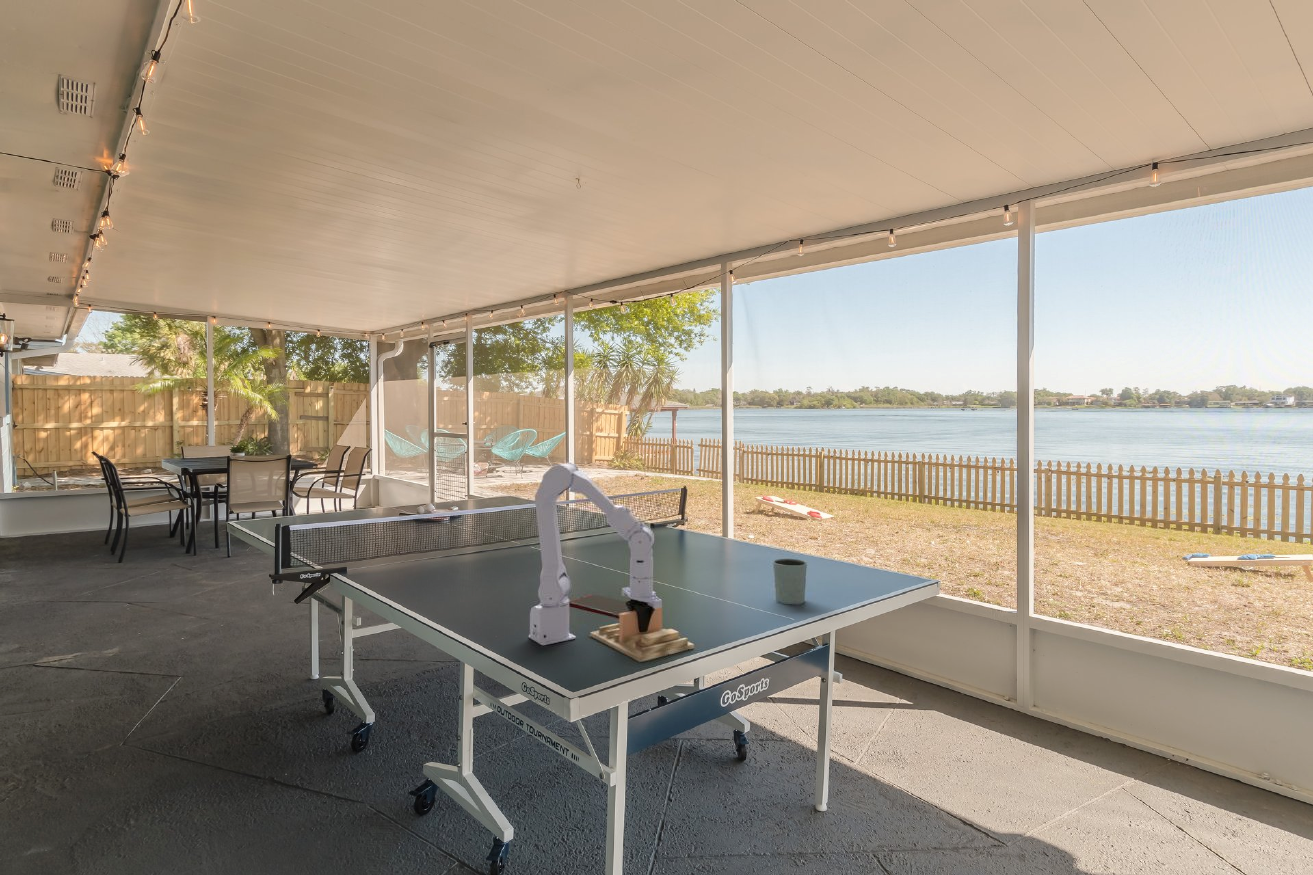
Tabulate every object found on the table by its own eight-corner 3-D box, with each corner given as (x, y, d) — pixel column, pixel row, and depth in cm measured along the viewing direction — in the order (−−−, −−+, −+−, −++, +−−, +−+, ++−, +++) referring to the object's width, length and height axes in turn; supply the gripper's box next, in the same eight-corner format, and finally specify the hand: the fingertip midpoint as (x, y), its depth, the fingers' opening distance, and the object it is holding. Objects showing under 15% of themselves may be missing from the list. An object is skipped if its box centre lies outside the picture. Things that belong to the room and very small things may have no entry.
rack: (639, 661, 156) (639, 651, 156) (590, 636, 174) (590, 626, 174) (693, 648, 166) (693, 638, 165) (641, 624, 183) (641, 615, 183)
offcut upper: (648, 645, 160) (648, 638, 160) (641, 641, 163) (641, 635, 162) (678, 637, 165) (678, 631, 165) (671, 634, 168) (671, 628, 168)
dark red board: (631, 618, 186) (566, 601, 202) (631, 624, 187) (566, 606, 202) (658, 608, 196) (594, 592, 211) (658, 613, 196) (594, 597, 211)
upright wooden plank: (622, 643, 165) (622, 614, 165) (618, 641, 167) (619, 613, 166) (661, 634, 173) (662, 606, 172) (658, 632, 174) (658, 605, 174)
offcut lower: (643, 652, 159) (643, 646, 159) (635, 648, 162) (635, 642, 162) (680, 643, 166) (680, 637, 166) (672, 639, 168) (672, 633, 168)
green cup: (806, 606, 203) (807, 566, 202) (771, 604, 205) (772, 564, 204) (805, 597, 213) (806, 559, 212) (773, 595, 215) (773, 557, 214)
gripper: (672, 579, 166) (671, 635, 166) (637, 568, 177) (637, 620, 178) (648, 584, 161) (647, 640, 162) (615, 572, 173) (614, 625, 174)
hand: (640, 630), depth 170 cm, fingers closed on upright wooden plank, 1 cm apart
